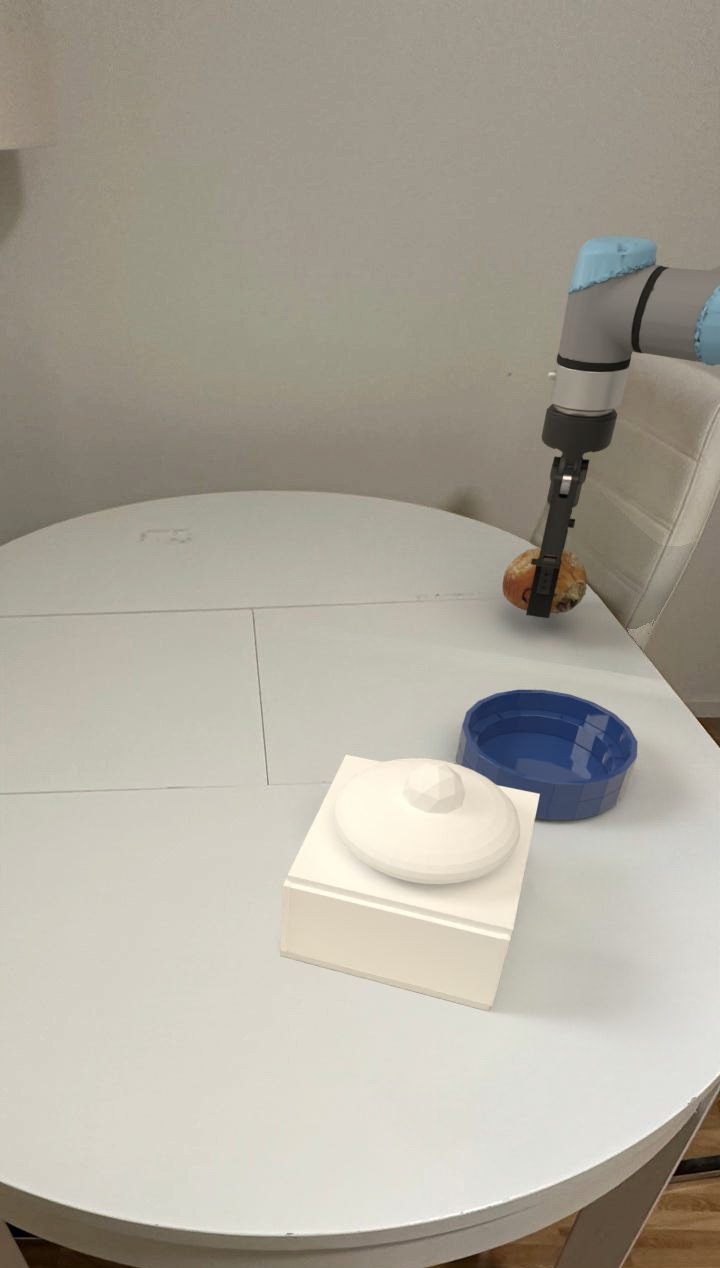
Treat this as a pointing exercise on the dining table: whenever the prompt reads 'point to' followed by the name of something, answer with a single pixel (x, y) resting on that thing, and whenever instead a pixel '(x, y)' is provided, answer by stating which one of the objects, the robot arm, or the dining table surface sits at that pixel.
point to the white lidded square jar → (411, 878)
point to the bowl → (550, 750)
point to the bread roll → (567, 586)
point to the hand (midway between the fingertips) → (542, 596)
